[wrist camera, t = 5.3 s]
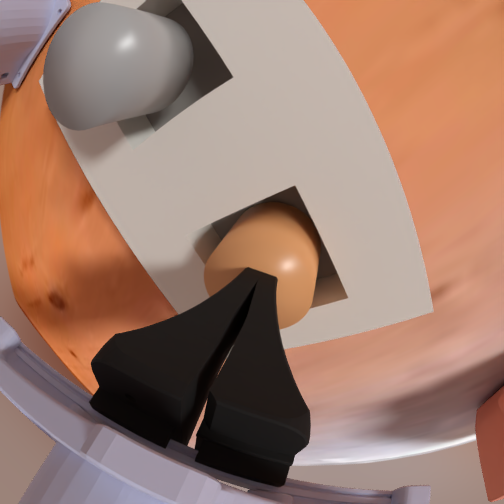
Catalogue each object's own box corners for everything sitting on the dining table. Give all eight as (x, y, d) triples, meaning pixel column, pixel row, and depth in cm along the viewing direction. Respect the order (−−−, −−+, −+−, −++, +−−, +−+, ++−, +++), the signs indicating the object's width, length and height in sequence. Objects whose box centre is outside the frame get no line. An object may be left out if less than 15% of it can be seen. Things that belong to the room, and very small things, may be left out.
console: (229, 329, 21) (215, 359, 19) (72, 76, 14) (38, 81, 11) (422, 277, 15) (433, 311, 12) (239, -64, 7) (217, -88, 5)
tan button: (259, 290, 17) (238, 337, 14) (217, 222, 16) (183, 260, 12) (334, 267, 15) (330, 317, 12) (296, 187, 14) (280, 221, 10)
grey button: (134, 133, 12) (72, 155, 9) (95, 62, 10) (32, 68, 7) (213, 73, 10) (157, 68, 6) (163, -2, 8) (101, -22, 5)
